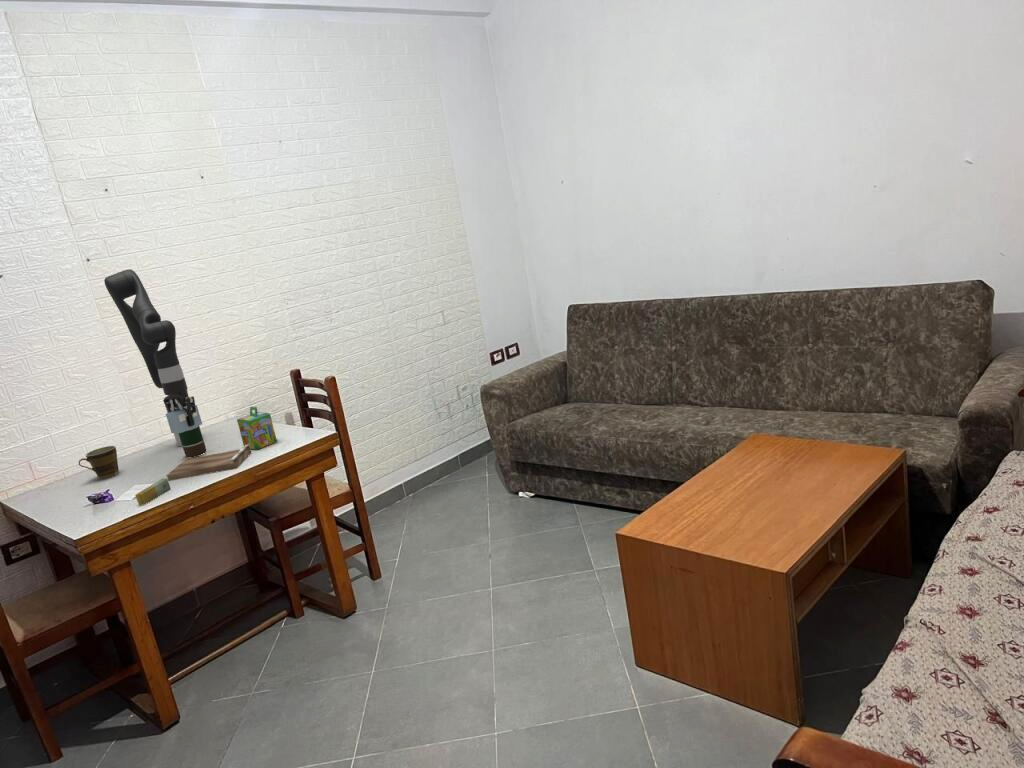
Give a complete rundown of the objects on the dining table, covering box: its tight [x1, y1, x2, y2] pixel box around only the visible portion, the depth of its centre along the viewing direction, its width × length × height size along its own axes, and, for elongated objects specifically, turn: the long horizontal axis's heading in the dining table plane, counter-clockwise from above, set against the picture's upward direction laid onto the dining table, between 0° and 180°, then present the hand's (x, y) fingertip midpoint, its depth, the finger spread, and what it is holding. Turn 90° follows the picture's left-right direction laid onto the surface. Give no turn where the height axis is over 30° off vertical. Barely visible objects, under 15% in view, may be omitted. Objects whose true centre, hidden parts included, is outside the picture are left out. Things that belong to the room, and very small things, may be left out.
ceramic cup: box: [78, 445, 120, 480], centre depth 268 cm, size 13×10×10 cm
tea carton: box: [165, 404, 203, 434], centre depth 254 cm, size 5×9×7 cm, turn 151°
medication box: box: [134, 478, 172, 506], centre depth 236 cm, size 12×3×4 cm, turn 164°
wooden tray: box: [166, 445, 252, 481], centre depth 258 cm, size 16×24×3 cm, turn 91°
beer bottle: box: [179, 405, 207, 458], centre depth 275 cm, size 8×8×24 cm
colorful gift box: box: [236, 406, 278, 451], centre depth 272 cm, size 9×9×15 cm
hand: (186, 425), depth 255 cm, fingers closed on tea carton, 5 cm apart
